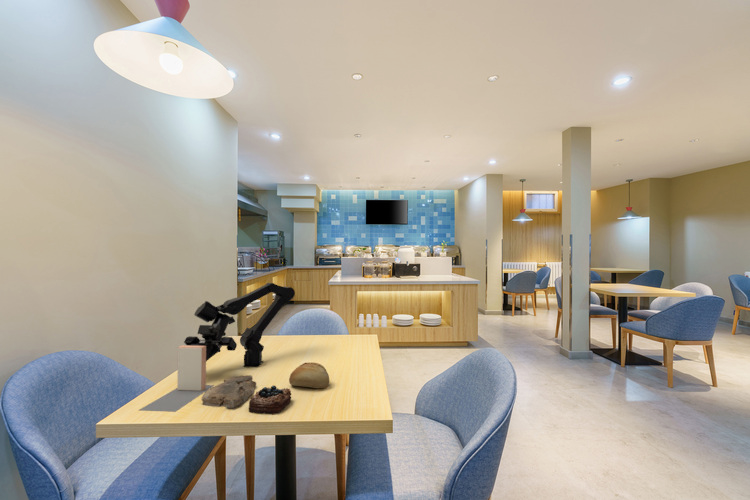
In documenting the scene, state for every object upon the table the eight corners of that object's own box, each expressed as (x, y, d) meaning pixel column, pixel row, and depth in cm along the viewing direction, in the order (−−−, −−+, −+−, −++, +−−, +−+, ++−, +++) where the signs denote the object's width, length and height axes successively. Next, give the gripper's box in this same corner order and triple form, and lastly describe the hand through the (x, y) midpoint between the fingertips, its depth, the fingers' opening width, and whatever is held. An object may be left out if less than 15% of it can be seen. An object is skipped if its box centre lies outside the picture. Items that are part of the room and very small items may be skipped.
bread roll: (294, 380, 121) (294, 359, 121) (332, 381, 119) (332, 360, 120) (284, 390, 112) (284, 367, 112) (326, 392, 110) (326, 369, 110)
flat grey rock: (232, 383, 119) (194, 407, 99) (232, 370, 119) (195, 391, 99) (267, 386, 117) (236, 411, 97) (267, 372, 117) (236, 394, 97)
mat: (183, 385, 116) (183, 384, 116) (214, 386, 115) (214, 385, 115) (138, 411, 96) (138, 410, 96) (175, 413, 95) (175, 411, 95)
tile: (181, 387, 113) (182, 345, 114) (205, 388, 112) (206, 345, 113) (177, 390, 111) (177, 347, 111) (201, 391, 110) (201, 347, 110)
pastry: (280, 416, 94) (280, 396, 94) (242, 413, 95) (242, 393, 96) (295, 400, 104) (295, 382, 105) (261, 397, 106) (261, 380, 106)
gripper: (187, 315, 124) (166, 352, 112) (233, 316, 122) (216, 353, 111) (200, 331, 131) (181, 367, 120) (243, 332, 130) (228, 368, 118)
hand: (201, 364), depth 117 cm, fingers closed
